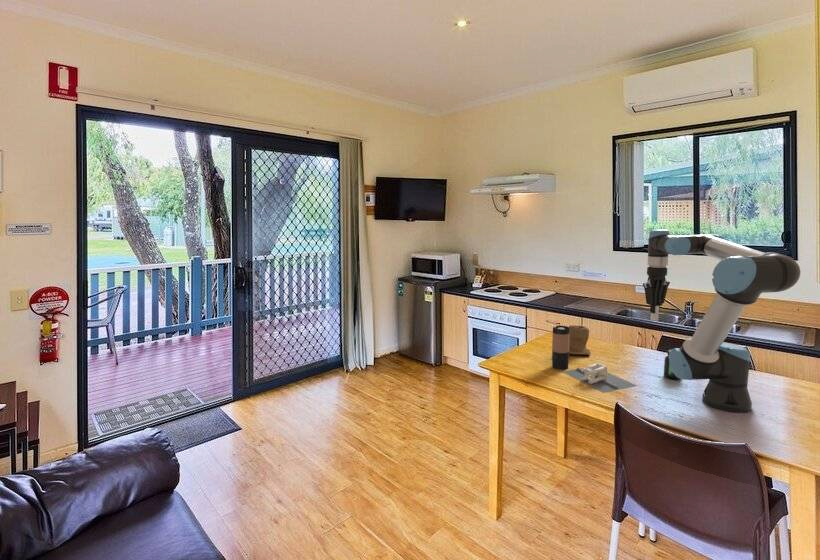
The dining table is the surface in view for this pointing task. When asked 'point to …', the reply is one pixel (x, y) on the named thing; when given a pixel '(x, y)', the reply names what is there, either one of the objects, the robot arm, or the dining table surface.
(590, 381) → the stool
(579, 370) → the board
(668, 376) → the supplement bottle
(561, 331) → the travel mug
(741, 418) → the dining table surface
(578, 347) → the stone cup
